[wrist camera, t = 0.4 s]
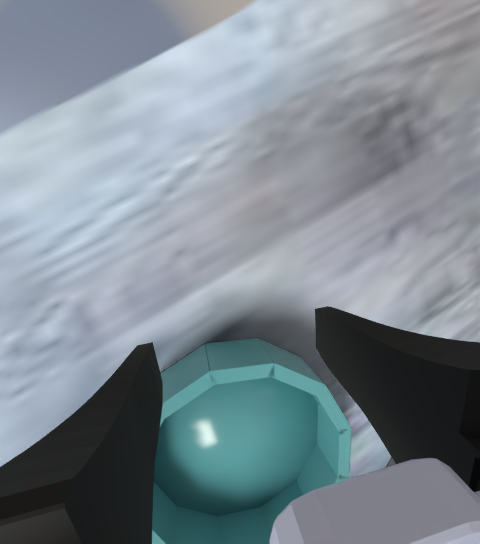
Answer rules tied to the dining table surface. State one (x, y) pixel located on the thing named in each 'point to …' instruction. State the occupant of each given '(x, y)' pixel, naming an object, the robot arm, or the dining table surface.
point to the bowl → (242, 443)
